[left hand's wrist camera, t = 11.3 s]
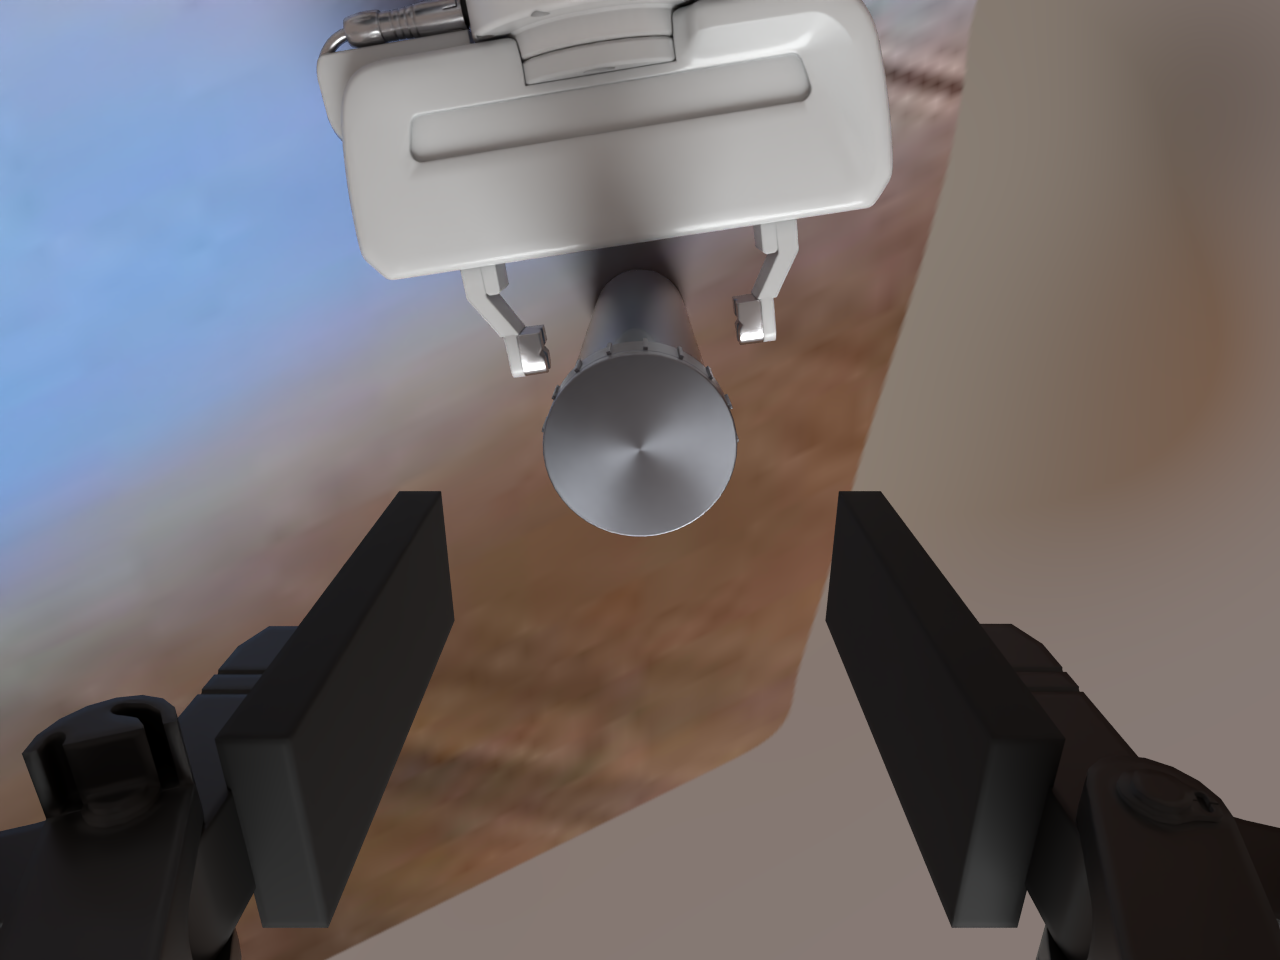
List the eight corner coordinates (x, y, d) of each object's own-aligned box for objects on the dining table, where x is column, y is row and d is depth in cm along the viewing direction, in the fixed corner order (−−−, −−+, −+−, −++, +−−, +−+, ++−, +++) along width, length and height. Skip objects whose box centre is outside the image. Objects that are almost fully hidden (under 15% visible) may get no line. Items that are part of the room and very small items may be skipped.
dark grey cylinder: (698, 287, 38) (750, 392, 20) (667, 372, 39) (690, 540, 21) (611, 256, 37) (584, 336, 19) (583, 343, 39) (534, 492, 21)
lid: (762, 373, 21) (771, 389, 19) (694, 537, 23) (698, 562, 21) (579, 311, 20) (574, 322, 19) (525, 484, 22) (517, 506, 21)
